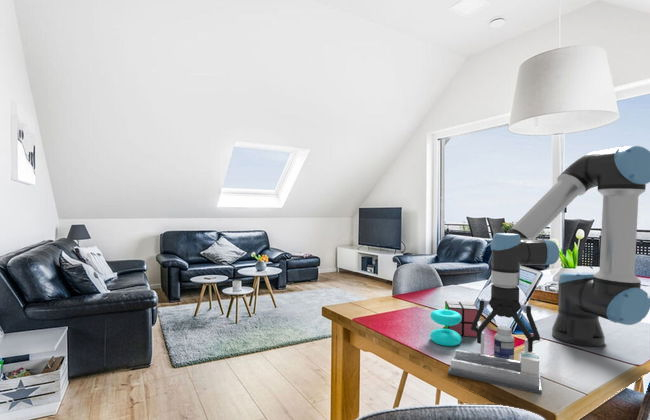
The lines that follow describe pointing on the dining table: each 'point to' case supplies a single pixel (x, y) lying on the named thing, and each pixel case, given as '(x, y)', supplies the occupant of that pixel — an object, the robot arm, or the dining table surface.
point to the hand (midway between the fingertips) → (503, 358)
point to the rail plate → (493, 371)
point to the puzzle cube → (463, 317)
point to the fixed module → (530, 363)
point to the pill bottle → (504, 343)
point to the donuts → (446, 335)
